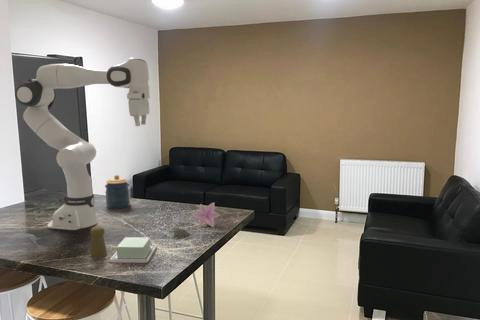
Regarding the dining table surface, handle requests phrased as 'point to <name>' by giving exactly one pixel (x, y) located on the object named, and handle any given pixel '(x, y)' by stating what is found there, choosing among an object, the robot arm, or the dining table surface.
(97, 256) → the cork
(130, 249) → the butter dish
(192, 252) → the dining table surface
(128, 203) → the canister
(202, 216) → the lily
